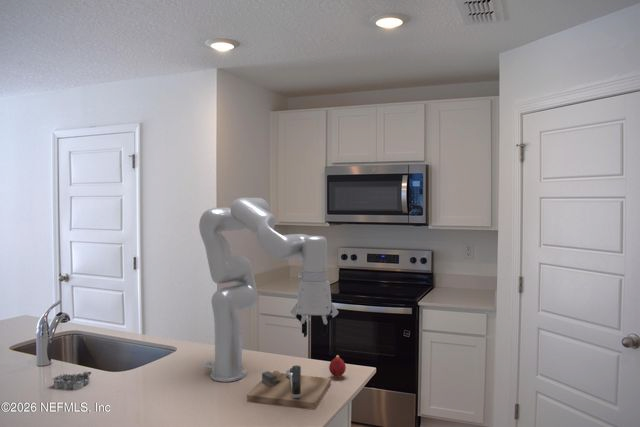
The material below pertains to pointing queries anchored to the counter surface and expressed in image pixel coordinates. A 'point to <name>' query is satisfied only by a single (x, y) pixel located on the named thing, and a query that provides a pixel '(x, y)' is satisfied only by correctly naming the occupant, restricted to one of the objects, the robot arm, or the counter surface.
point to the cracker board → (289, 390)
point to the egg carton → (72, 381)
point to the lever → (295, 380)
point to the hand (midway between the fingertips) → (314, 335)
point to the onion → (337, 367)
